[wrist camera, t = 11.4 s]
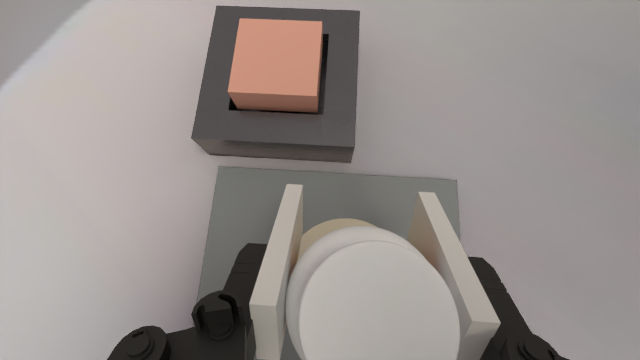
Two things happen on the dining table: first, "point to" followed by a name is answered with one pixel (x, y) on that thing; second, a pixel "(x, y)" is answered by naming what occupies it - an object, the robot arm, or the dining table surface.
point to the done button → (277, 65)
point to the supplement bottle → (369, 300)
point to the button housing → (281, 126)
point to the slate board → (308, 213)
